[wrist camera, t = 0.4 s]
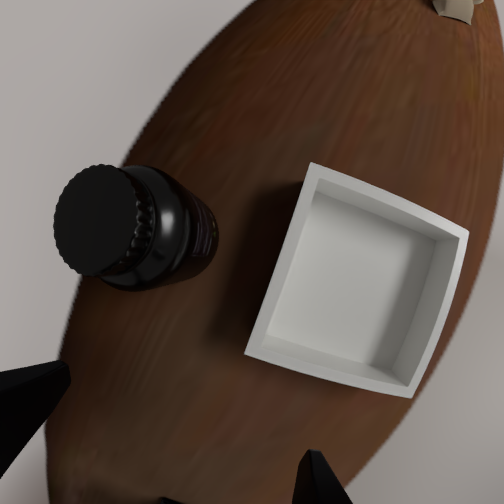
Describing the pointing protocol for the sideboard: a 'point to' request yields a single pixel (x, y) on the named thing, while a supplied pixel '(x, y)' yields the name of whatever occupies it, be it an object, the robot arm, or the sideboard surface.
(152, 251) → the supplement bottle
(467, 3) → the beige rounded piece
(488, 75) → the sideboard surface
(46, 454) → the sideboard surface
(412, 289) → the tray
